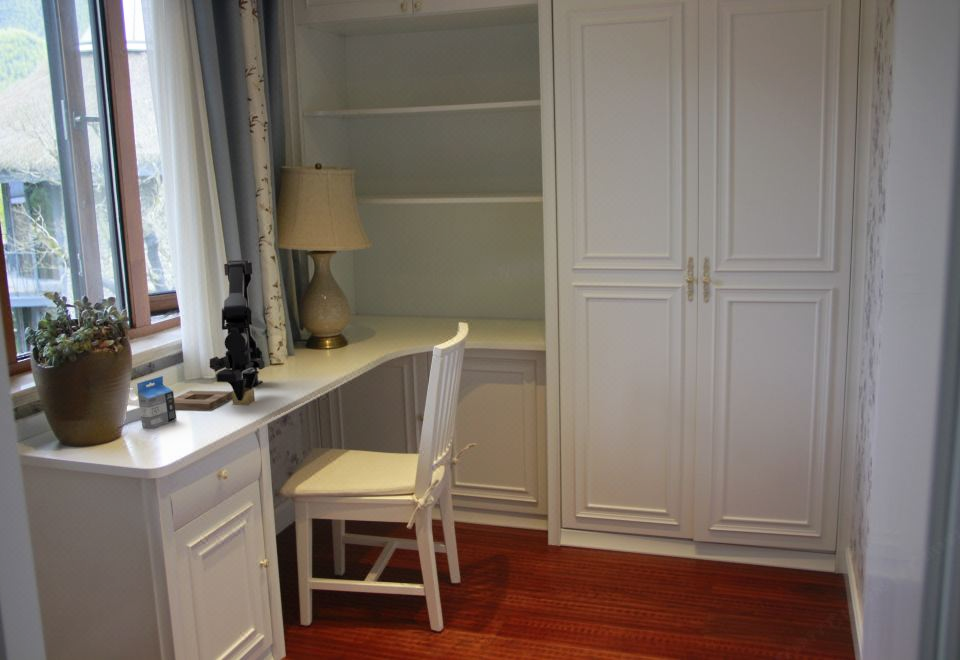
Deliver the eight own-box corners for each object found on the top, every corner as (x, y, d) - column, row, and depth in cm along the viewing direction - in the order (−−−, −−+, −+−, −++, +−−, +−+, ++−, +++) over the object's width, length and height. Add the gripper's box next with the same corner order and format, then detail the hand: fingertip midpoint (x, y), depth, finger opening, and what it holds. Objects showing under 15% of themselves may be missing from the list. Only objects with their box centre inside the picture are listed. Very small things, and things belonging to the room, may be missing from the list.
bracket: (134, 413, 246) (131, 387, 245) (151, 416, 243) (148, 390, 242) (94, 426, 235) (91, 399, 234) (112, 428, 232) (109, 401, 230)
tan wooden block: (239, 400, 255) (238, 387, 255) (254, 401, 254) (253, 387, 254) (232, 404, 251) (231, 391, 251) (248, 404, 250) (247, 391, 250)
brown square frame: (191, 396, 262) (190, 390, 262) (233, 397, 259) (232, 391, 259) (165, 409, 249) (164, 402, 248) (209, 410, 246) (208, 403, 245)
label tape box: (151, 429, 229) (147, 384, 227) (141, 427, 231) (136, 383, 228) (177, 420, 237) (172, 376, 234) (166, 419, 238) (162, 375, 236)
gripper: (229, 339, 261) (233, 390, 263) (196, 352, 243) (201, 406, 245) (263, 340, 258) (267, 390, 261) (233, 353, 240) (237, 407, 243)
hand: (243, 398), depth 253 cm, fingers closed on tan wooden block, 4 cm apart
